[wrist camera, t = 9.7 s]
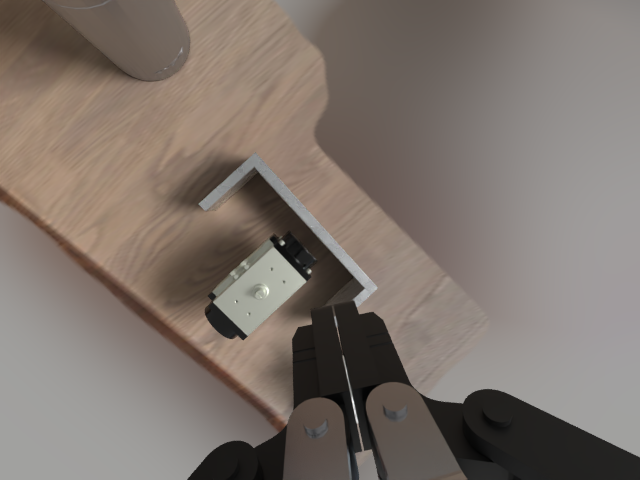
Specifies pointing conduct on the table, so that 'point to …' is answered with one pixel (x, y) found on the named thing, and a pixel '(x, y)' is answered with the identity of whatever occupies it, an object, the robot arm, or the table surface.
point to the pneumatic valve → (259, 286)
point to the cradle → (360, 283)
